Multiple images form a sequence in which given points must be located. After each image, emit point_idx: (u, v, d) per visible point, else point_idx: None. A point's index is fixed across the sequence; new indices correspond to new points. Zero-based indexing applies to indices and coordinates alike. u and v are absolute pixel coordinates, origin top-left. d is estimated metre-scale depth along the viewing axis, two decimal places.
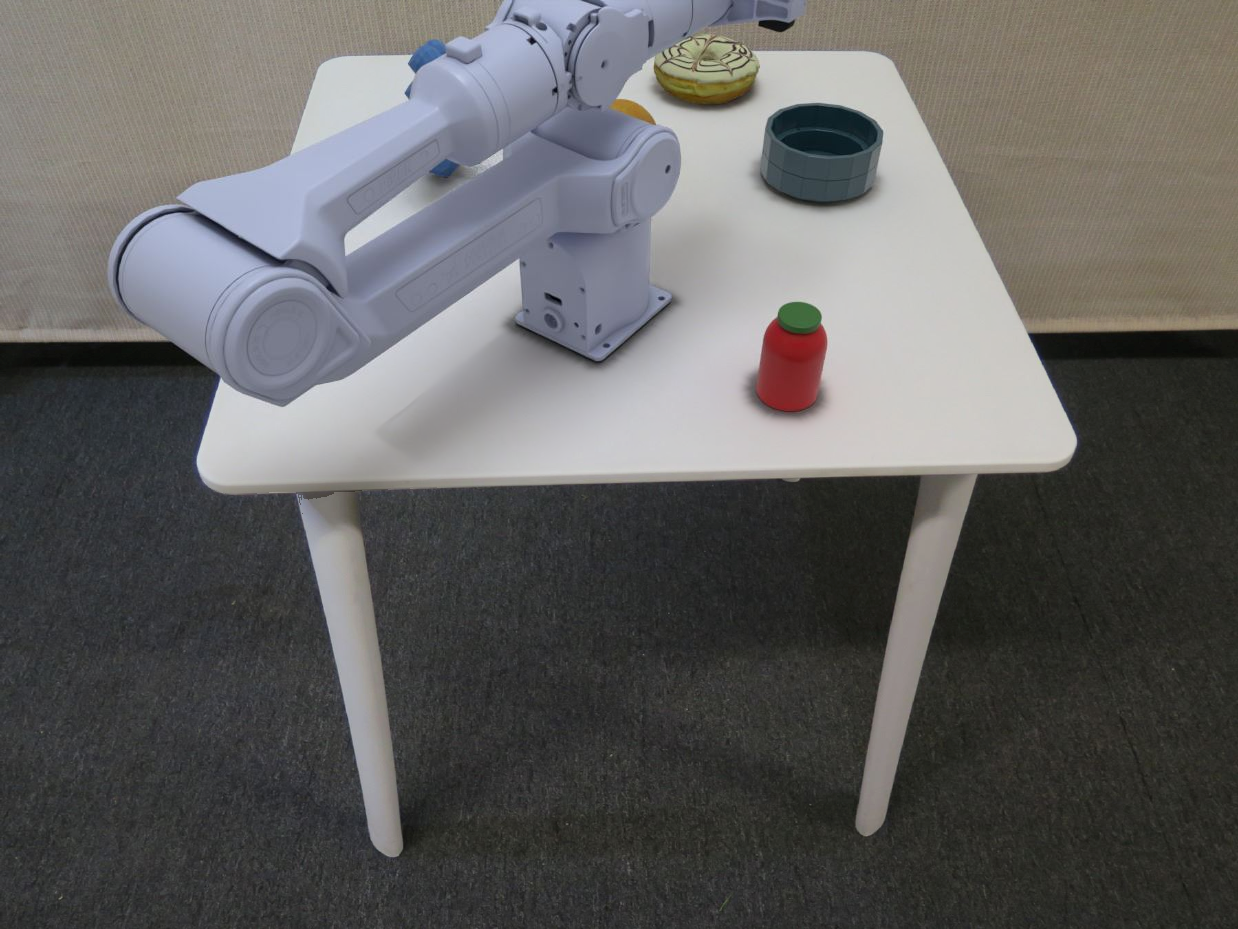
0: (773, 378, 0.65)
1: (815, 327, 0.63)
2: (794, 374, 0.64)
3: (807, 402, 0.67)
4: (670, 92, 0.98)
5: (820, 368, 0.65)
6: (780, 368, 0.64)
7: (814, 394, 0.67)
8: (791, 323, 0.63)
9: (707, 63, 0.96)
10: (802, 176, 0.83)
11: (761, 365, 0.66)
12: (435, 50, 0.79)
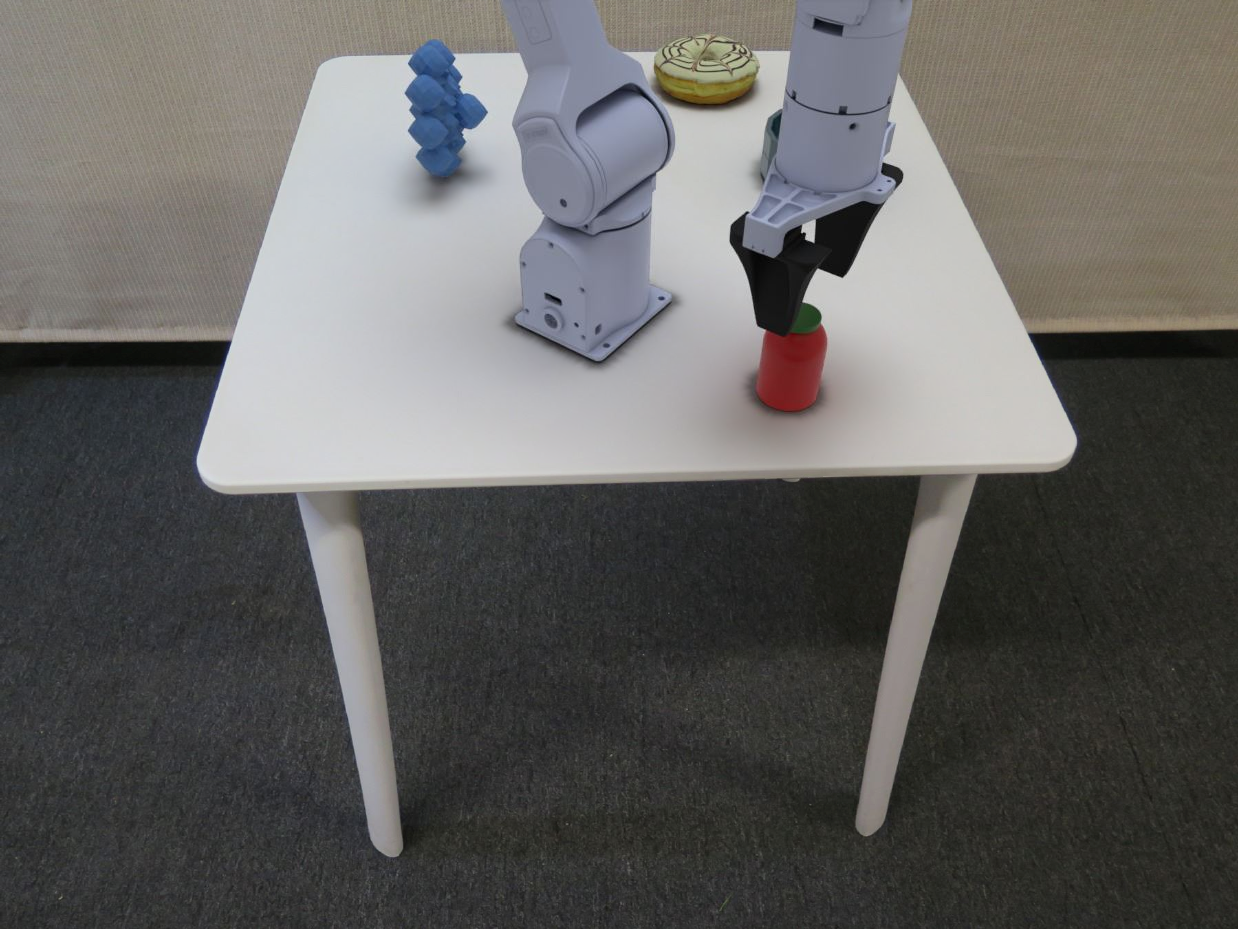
0: (773, 378, 0.65)
1: (815, 327, 0.63)
2: (794, 374, 0.64)
3: (807, 402, 0.67)
4: (670, 92, 0.98)
5: (820, 368, 0.65)
6: (780, 368, 0.64)
7: (814, 394, 0.67)
8: None
9: (707, 63, 0.96)
10: None
11: (761, 365, 0.66)
12: (435, 50, 0.79)
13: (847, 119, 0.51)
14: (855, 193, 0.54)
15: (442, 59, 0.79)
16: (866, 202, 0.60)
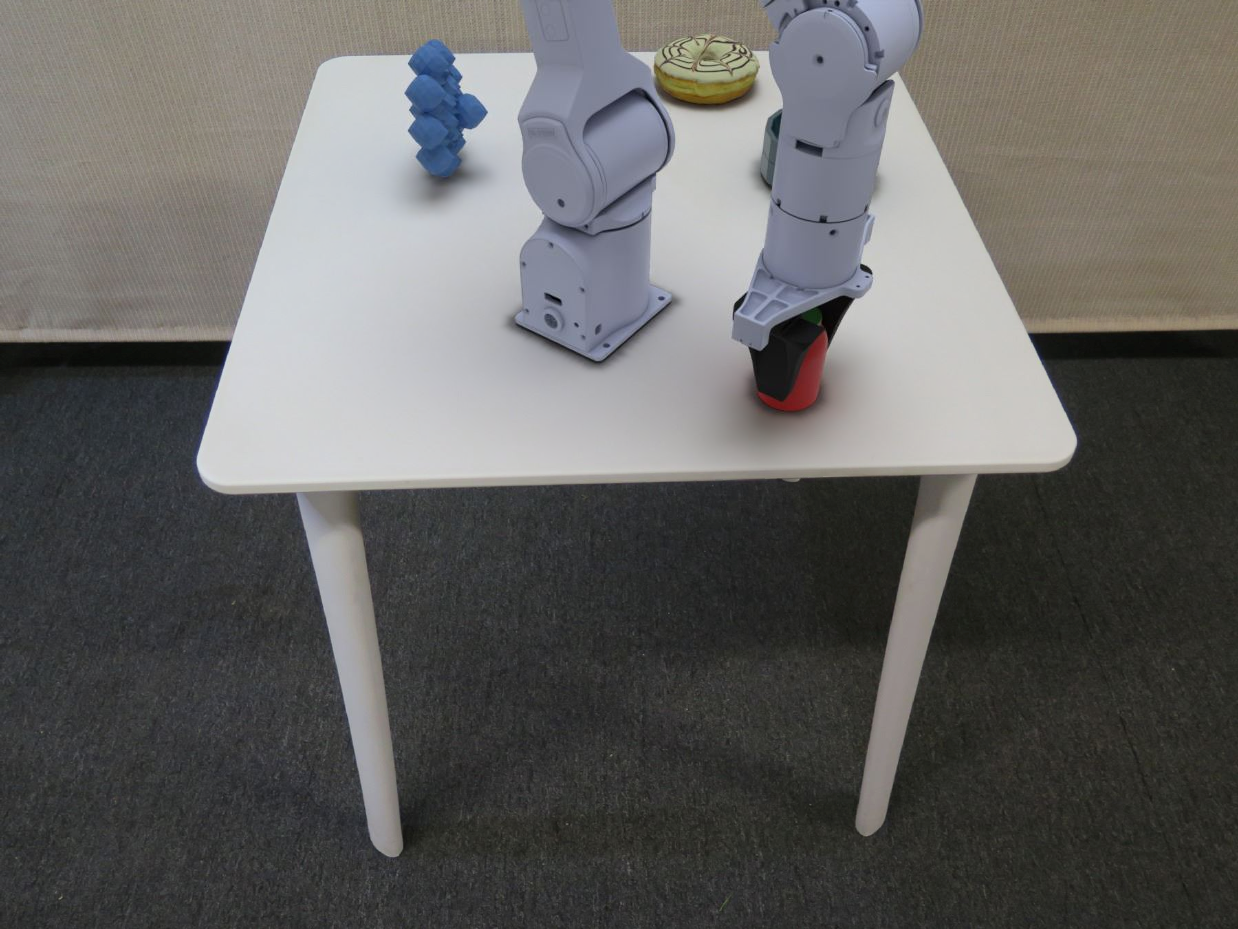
0: None
1: None
2: None
3: (807, 402, 0.67)
4: (670, 92, 0.98)
5: (820, 368, 0.65)
6: None
7: (814, 394, 0.67)
8: None
9: (707, 63, 0.96)
10: None
11: None
12: (435, 50, 0.79)
13: (827, 226, 0.56)
14: (835, 289, 0.59)
15: (442, 59, 0.79)
16: (837, 299, 0.64)
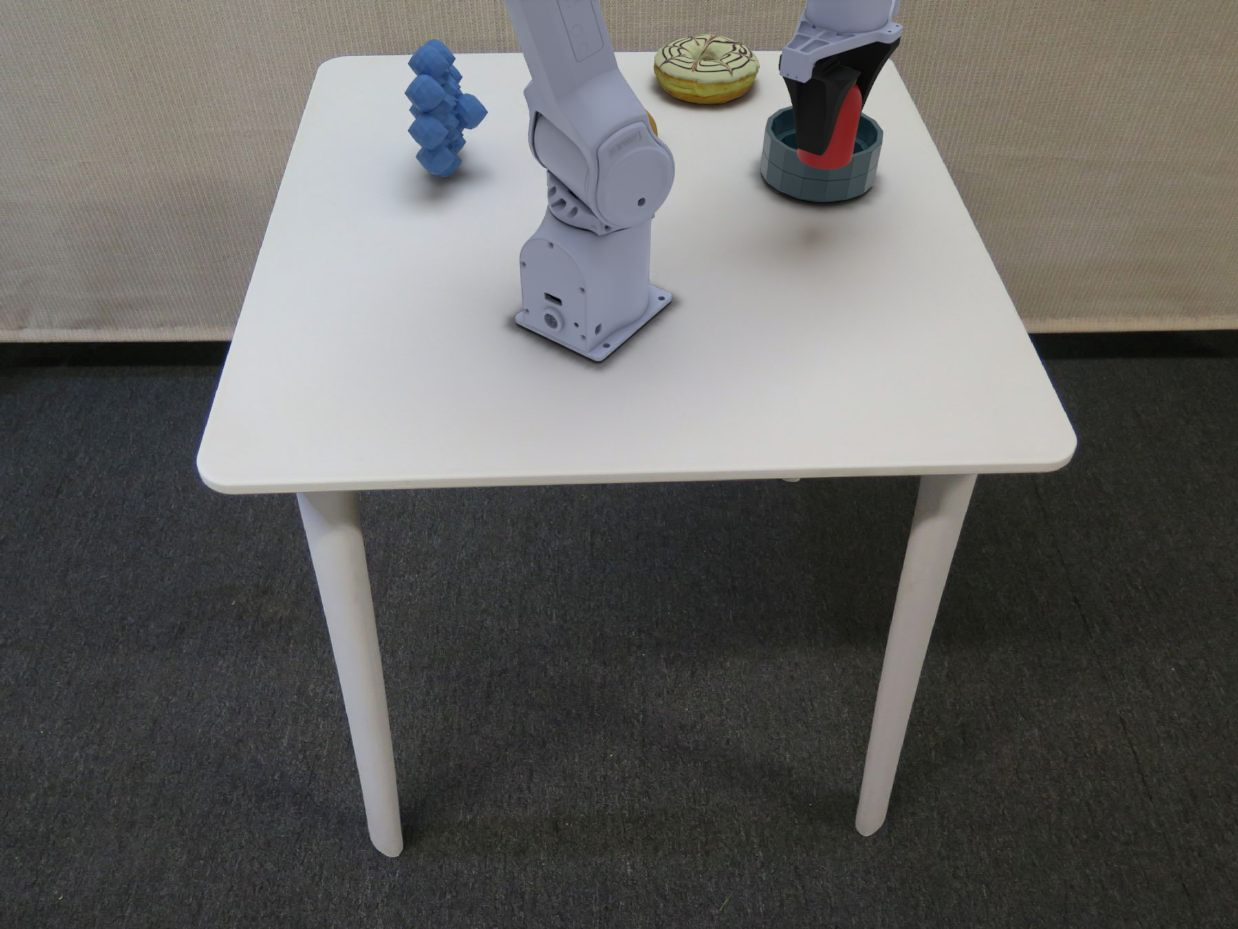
0: None
1: None
2: None
3: (843, 160, 0.75)
4: (670, 92, 0.98)
5: (855, 126, 0.74)
6: None
7: (849, 153, 0.75)
8: None
9: (707, 63, 0.96)
10: (802, 176, 0.83)
11: None
12: (435, 50, 0.79)
13: None
14: (869, 33, 0.67)
15: (442, 59, 0.79)
16: (870, 60, 0.72)
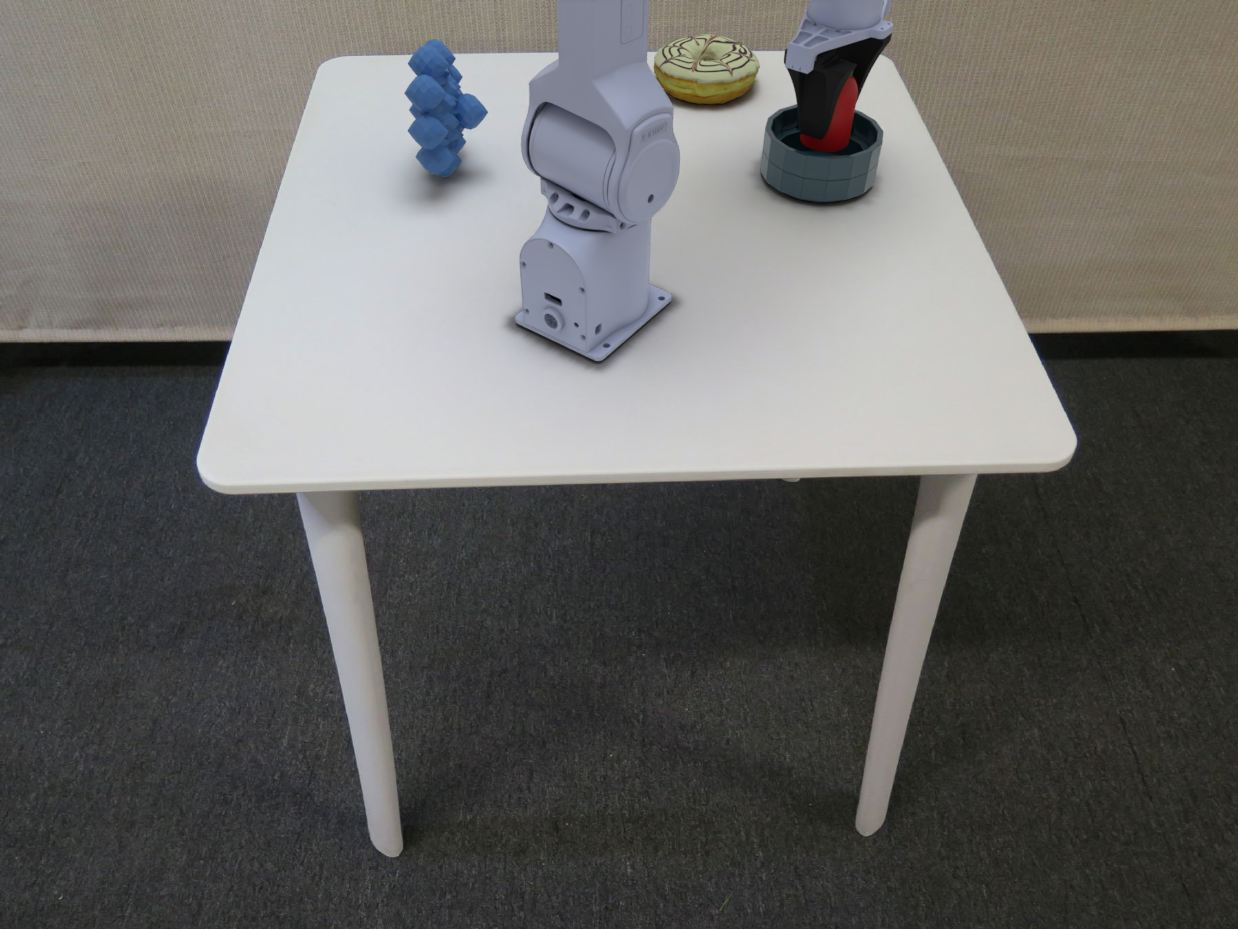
0: None
1: None
2: None
3: (841, 144, 0.84)
4: (670, 92, 0.98)
5: (852, 112, 0.83)
6: None
7: (846, 138, 0.84)
8: None
9: (707, 63, 0.96)
10: (802, 176, 0.83)
11: None
12: (435, 50, 0.79)
13: None
14: (864, 30, 0.76)
15: (442, 59, 0.79)
16: (864, 54, 0.81)
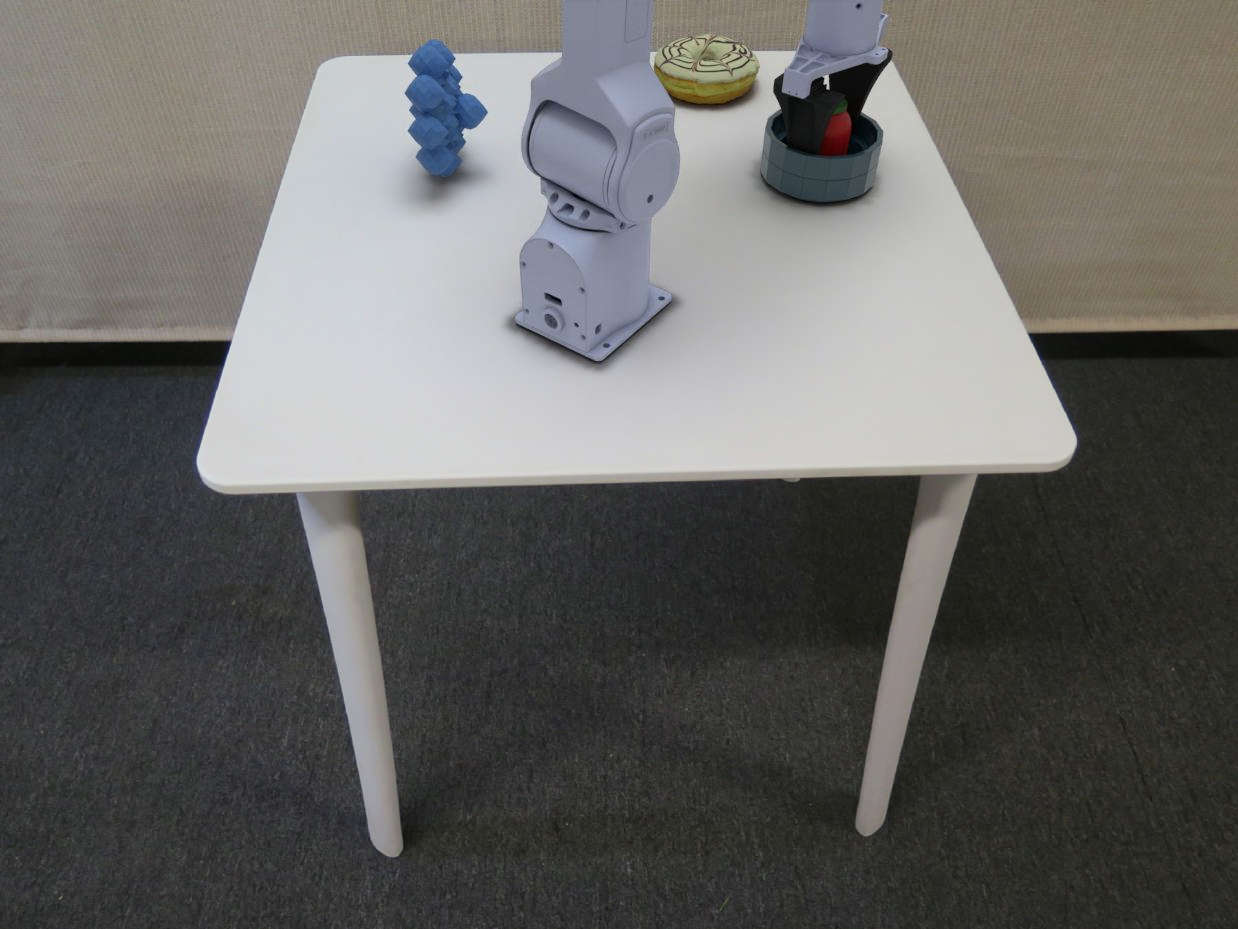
0: None
1: (842, 109, 0.83)
2: (826, 149, 0.84)
3: None
4: (670, 92, 0.98)
5: (845, 146, 0.85)
6: None
7: None
8: None
9: (707, 63, 0.96)
10: (802, 176, 0.83)
11: None
12: (435, 50, 0.79)
13: (855, 0, 0.75)
14: (859, 56, 0.78)
15: (442, 59, 0.79)
16: (866, 73, 0.84)
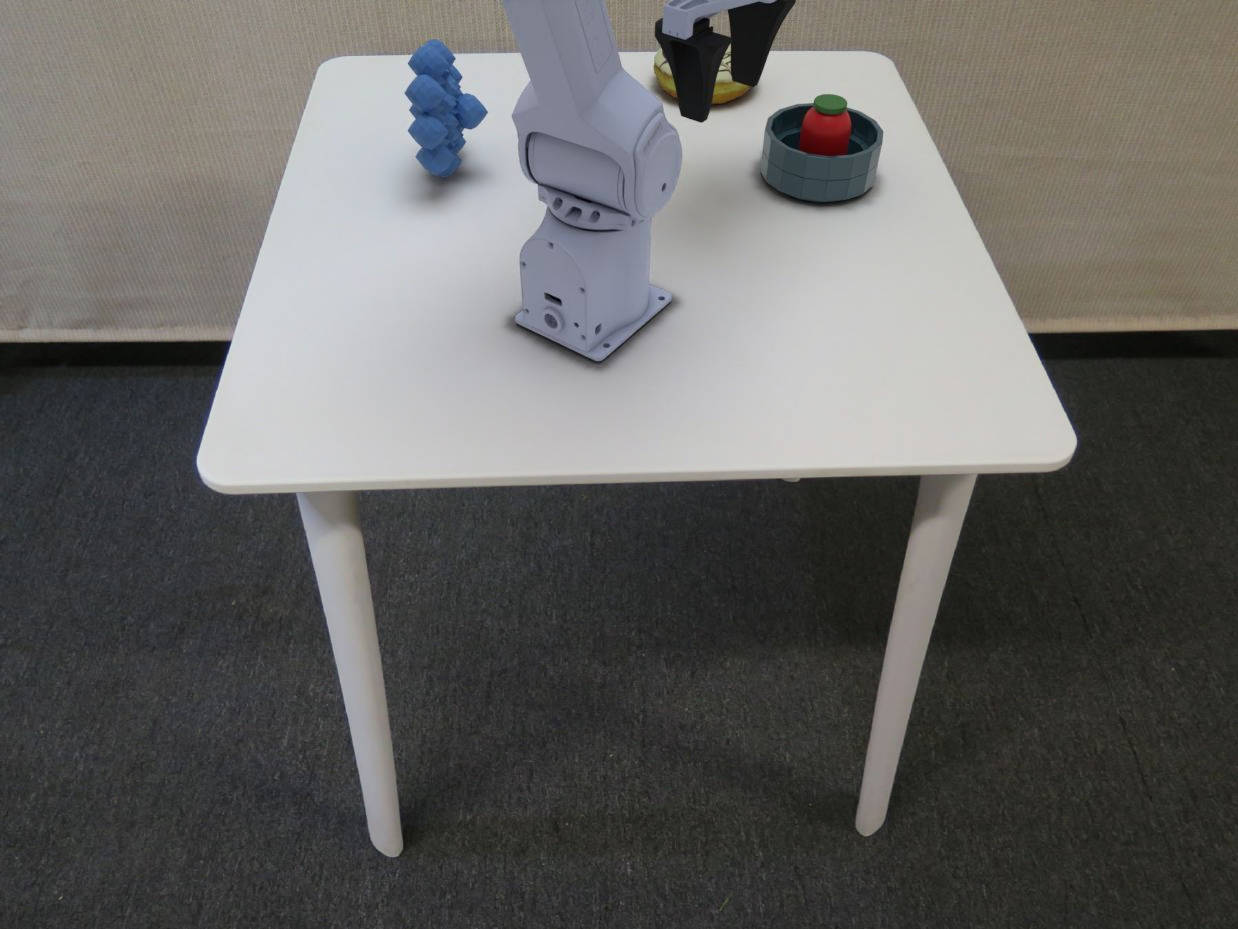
0: None
1: (842, 109, 0.83)
2: (826, 149, 0.84)
3: None
4: (670, 92, 0.98)
5: (845, 146, 0.85)
6: (815, 144, 0.84)
7: None
8: (824, 106, 0.83)
9: None
10: (802, 176, 0.83)
11: (800, 146, 0.86)
12: (435, 50, 0.79)
13: None
14: None
15: (442, 59, 0.79)
16: (767, 17, 0.76)
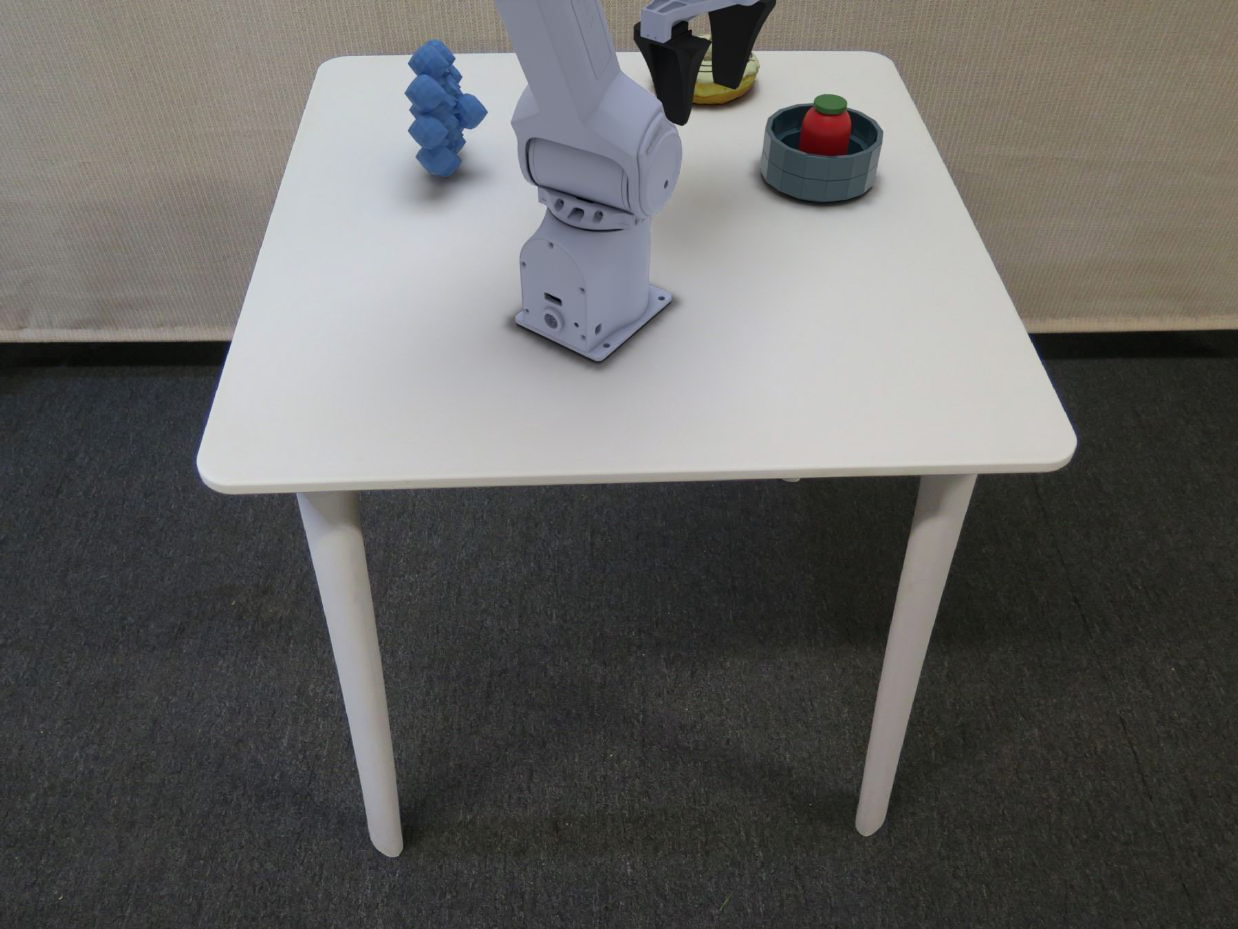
0: None
1: (842, 109, 0.83)
2: (826, 149, 0.84)
3: None
4: None
5: (845, 146, 0.85)
6: (815, 144, 0.84)
7: None
8: (824, 106, 0.83)
9: (707, 63, 0.96)
10: (802, 176, 0.83)
11: (800, 146, 0.86)
12: (435, 50, 0.79)
13: None
14: None
15: (442, 59, 0.79)
16: (748, 19, 0.75)
